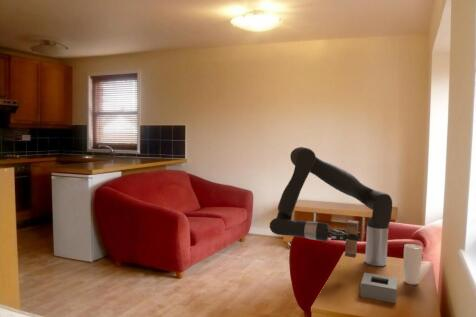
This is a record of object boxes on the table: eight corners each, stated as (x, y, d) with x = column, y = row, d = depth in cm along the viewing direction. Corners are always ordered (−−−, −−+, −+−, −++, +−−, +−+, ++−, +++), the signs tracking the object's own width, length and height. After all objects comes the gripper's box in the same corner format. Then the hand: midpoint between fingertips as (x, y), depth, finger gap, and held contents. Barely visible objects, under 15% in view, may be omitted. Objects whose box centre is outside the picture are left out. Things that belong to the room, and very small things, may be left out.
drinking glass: (419, 287, 151) (421, 249, 150) (400, 283, 154) (402, 246, 153) (421, 281, 157) (423, 245, 156) (403, 278, 160) (405, 242, 159)
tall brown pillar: (346, 253, 159) (348, 220, 158) (356, 255, 158) (358, 221, 157) (344, 256, 156) (347, 222, 155) (355, 257, 154) (357, 223, 153)
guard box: (363, 284, 151) (364, 272, 151) (396, 290, 147) (397, 278, 146) (360, 296, 140) (360, 282, 140) (395, 303, 136) (396, 289, 135)
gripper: (313, 225, 155) (357, 231, 148) (320, 218, 168) (361, 224, 161) (312, 243, 156) (356, 250, 149) (320, 235, 169) (360, 241, 162)
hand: (359, 236), depth 155 cm, fingers closed on tall brown pillar, 4 cm apart
